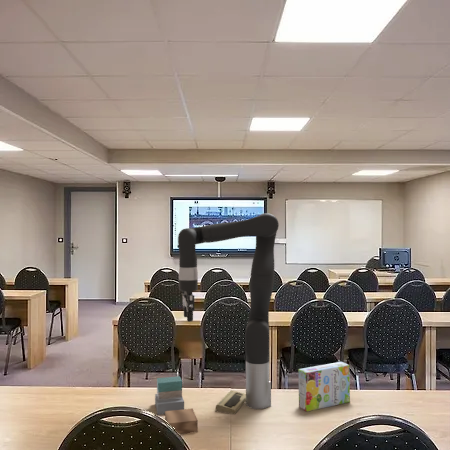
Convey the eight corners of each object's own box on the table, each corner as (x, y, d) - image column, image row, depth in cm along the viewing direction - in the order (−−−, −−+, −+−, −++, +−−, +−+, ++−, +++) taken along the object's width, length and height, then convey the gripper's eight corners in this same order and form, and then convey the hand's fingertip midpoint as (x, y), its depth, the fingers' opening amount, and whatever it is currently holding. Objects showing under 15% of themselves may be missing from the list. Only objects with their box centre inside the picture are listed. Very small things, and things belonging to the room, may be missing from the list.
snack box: (341, 397, 183) (341, 360, 182) (350, 402, 177) (350, 364, 177) (297, 406, 173) (297, 368, 173) (306, 412, 168) (306, 372, 168)
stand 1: (180, 401, 178) (180, 391, 178) (184, 412, 168) (184, 401, 168) (155, 404, 176) (155, 394, 176) (157, 414, 166) (157, 404, 166)
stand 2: (192, 419, 162) (192, 408, 162) (197, 431, 152) (197, 420, 152) (165, 422, 160) (165, 411, 160) (168, 435, 150) (168, 423, 150)
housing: (179, 394, 176) (179, 376, 176) (182, 399, 170) (182, 381, 170) (156, 396, 174) (156, 378, 173) (158, 401, 168) (158, 383, 168)
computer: (235, 415, 166) (235, 406, 166) (215, 412, 169) (215, 403, 169) (248, 400, 181) (248, 392, 181) (229, 397, 184) (229, 389, 184)
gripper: (200, 280, 172) (200, 322, 172) (194, 276, 185) (194, 315, 185) (181, 280, 170) (181, 323, 170) (176, 276, 184) (176, 315, 184)
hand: (188, 319), depth 178 cm, fingers open, 8 cm apart
